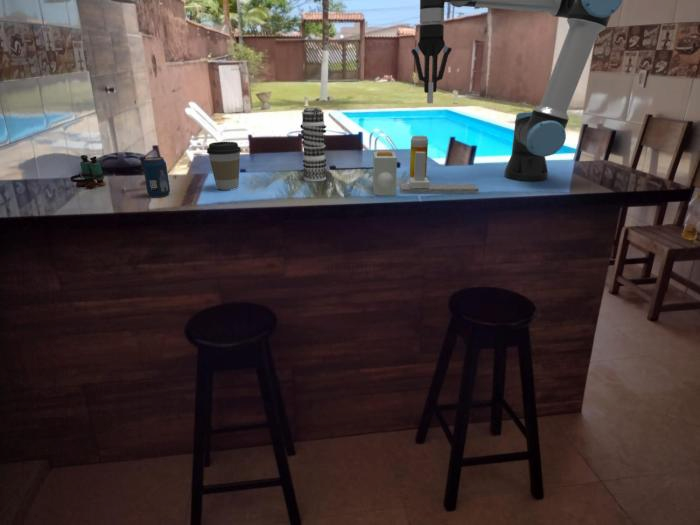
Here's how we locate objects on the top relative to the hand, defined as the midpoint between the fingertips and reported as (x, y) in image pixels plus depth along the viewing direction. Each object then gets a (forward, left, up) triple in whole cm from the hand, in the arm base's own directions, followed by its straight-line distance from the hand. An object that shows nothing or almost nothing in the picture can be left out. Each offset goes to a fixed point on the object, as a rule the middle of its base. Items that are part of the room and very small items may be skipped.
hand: (429, 103), depth 165 cm
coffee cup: (+69, +5, -27) cm, 74 cm away
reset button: (+15, +10, -19) cm, 26 cm away
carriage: (+4, +10, -26) cm, 28 cm away
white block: (+15, +10, -27) cm, 33 cm away
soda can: (+89, +15, -27) cm, 94 cm away
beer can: (+2, -10, -27) cm, 29 cm away
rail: (-3, +10, -27) cm, 29 cm away
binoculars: (+118, +3, -28) cm, 121 cm away
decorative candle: (+40, -9, -27) cm, 49 cm away
